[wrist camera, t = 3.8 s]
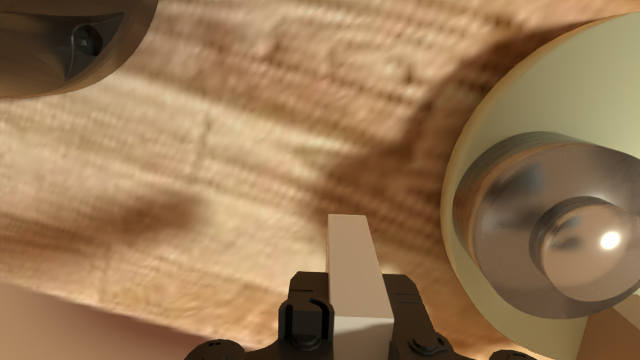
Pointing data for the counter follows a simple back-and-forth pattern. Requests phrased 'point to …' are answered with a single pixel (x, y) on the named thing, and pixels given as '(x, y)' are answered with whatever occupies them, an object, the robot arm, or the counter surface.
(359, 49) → the counter surface
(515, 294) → the cover
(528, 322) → the turntable
